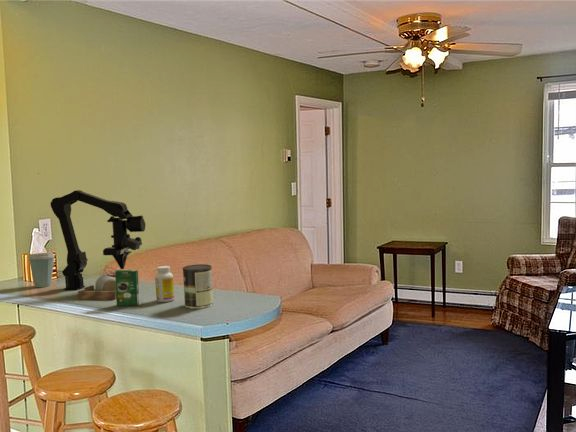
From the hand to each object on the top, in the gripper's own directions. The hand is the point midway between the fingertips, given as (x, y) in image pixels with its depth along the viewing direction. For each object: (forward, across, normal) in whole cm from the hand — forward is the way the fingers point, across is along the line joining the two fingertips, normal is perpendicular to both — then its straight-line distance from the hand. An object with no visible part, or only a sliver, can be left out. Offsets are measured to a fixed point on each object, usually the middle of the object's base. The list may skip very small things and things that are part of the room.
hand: (122, 269), depth 246 cm
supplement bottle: (+8, -21, -30) cm, 37 cm away
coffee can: (+8, -27, -46) cm, 54 cm away
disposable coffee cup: (+8, 0, +39) cm, 40 cm away
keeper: (+8, -15, -1) cm, 17 cm away
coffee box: (+8, -29, -19) cm, 36 cm away
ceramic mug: (+8, -13, -2) cm, 16 cm away
